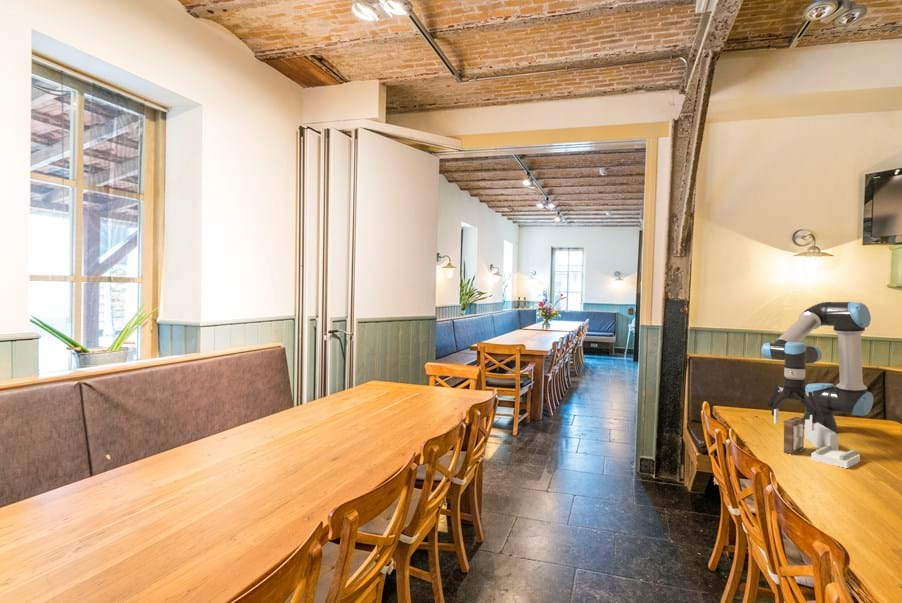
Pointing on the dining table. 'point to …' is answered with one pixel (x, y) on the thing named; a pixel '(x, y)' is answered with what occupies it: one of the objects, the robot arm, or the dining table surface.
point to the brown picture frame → (793, 435)
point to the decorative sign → (821, 436)
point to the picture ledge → (835, 457)
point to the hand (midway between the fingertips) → (793, 427)
